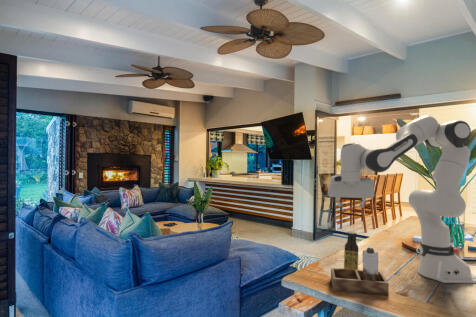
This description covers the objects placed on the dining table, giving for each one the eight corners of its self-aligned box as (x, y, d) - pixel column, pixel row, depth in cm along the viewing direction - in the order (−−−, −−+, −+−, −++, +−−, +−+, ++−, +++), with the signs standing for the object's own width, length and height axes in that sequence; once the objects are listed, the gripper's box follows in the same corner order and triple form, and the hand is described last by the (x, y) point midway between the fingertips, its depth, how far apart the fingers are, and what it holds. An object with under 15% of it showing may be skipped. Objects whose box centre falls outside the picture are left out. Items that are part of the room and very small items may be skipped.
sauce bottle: (343, 276, 137) (343, 233, 136) (343, 271, 142) (343, 230, 142) (358, 278, 134) (358, 234, 134) (358, 273, 140) (358, 231, 140)
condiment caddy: (381, 283, 129) (381, 271, 129) (388, 295, 117) (388, 283, 117) (331, 278, 134) (330, 267, 134) (333, 290, 122) (333, 278, 122)
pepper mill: (376, 283, 126) (376, 245, 126) (380, 289, 121) (379, 250, 121) (361, 281, 128) (361, 244, 128) (364, 287, 122) (363, 249, 122)
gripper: (373, 177, 139) (373, 206, 139) (327, 176, 143) (327, 205, 144) (376, 178, 133) (376, 209, 133) (328, 177, 137) (328, 207, 137)
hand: (350, 207), depth 138 cm, fingers open, 8 cm apart
